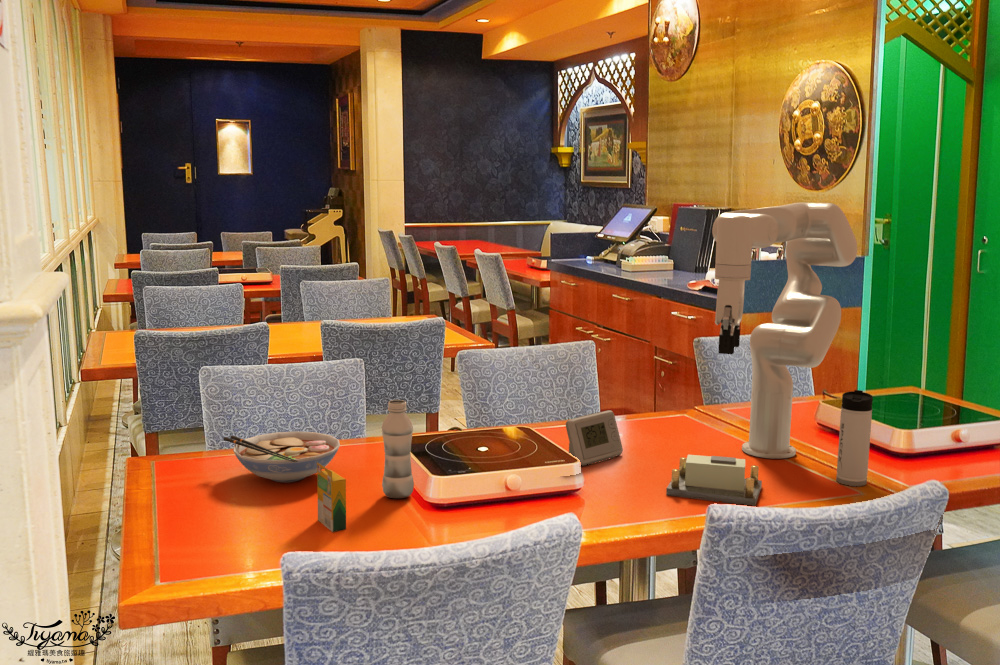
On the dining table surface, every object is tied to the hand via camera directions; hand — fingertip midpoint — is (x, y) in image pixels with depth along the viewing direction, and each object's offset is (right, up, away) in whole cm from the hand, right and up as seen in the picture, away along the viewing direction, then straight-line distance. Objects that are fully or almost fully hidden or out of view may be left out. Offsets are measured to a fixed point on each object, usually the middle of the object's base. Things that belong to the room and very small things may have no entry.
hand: (729, 350), depth 201 cm
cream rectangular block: (-5, -28, -8) cm, 30 cm away
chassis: (-5, -30, -8) cm, 31 cm away
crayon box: (-82, -33, -29) cm, 93 cm away
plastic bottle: (-71, -30, -13) cm, 79 cm away
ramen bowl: (-97, -28, -1) cm, 101 cm away
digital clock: (-28, -26, +15) cm, 41 cm away
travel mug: (+27, -29, -1) cm, 40 cm away
